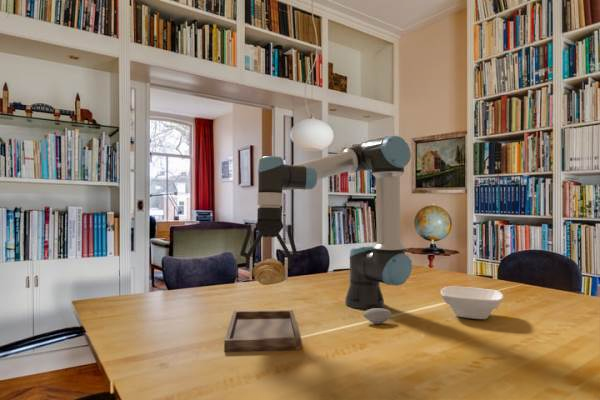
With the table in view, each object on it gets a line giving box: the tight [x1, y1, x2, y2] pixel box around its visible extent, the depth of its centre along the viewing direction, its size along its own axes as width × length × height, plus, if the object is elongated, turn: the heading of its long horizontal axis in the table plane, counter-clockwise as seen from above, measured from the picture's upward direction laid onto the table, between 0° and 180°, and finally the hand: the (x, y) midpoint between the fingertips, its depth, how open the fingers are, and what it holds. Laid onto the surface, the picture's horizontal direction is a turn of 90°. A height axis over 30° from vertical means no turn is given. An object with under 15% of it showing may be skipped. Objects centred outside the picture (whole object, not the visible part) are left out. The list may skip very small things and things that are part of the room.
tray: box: [223, 309, 302, 353], centre depth 120 cm, size 20×29×3 cm
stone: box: [362, 307, 392, 325], centre depth 132 cm, size 10×5×5 cm, turn 99°
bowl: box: [440, 285, 504, 320], centre depth 141 cm, size 21×21×9 cm
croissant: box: [252, 257, 286, 286], centre depth 121 cm, size 21×10×8 cm, turn 179°
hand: (268, 279), depth 121 cm, fingers closed on croissant, 10 cm apart
